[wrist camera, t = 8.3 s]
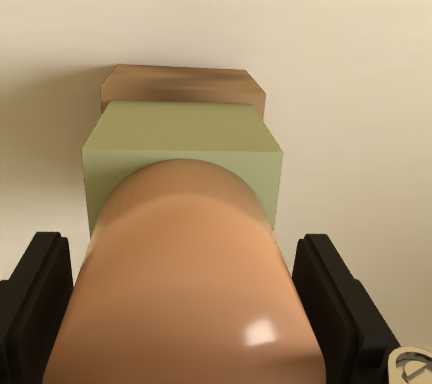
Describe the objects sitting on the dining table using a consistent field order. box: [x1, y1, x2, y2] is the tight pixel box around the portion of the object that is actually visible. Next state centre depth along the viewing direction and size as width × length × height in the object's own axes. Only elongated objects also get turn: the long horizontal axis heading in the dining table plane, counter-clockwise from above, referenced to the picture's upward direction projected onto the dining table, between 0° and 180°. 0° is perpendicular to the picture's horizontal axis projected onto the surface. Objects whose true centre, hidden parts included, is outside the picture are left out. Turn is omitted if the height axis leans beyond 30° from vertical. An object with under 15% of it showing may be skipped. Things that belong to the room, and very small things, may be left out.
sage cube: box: [81, 100, 283, 240], centre depth 16 cm, size 6×6×6 cm
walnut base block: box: [100, 64, 266, 121], centre depth 22 cm, size 7×7×6 cm
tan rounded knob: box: [42, 159, 326, 384], centre depth 11 cm, size 6×6×6 cm
